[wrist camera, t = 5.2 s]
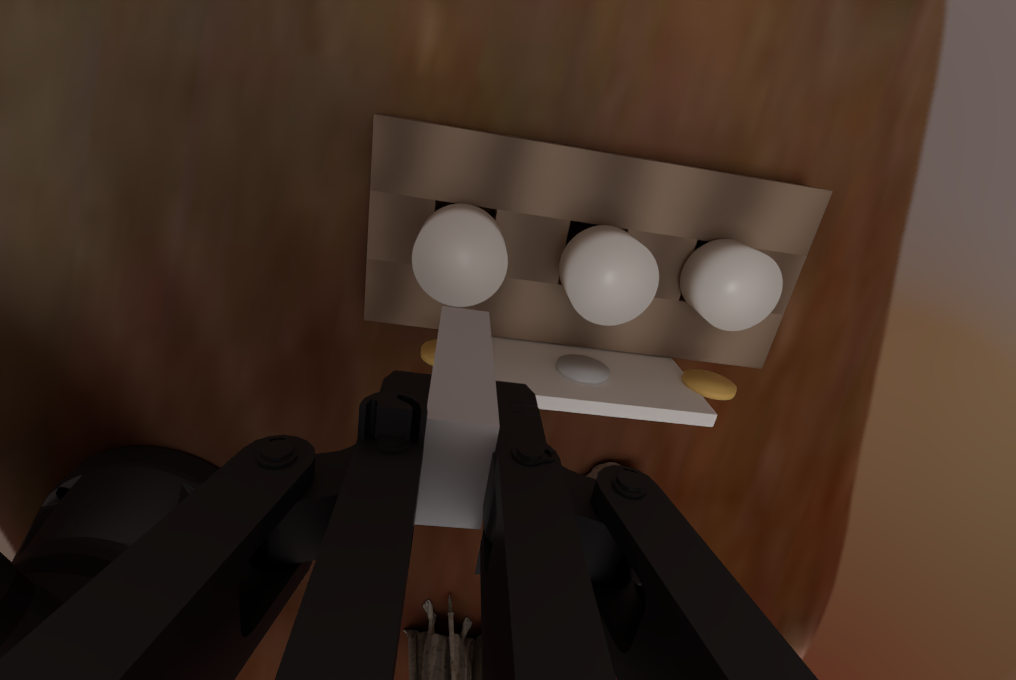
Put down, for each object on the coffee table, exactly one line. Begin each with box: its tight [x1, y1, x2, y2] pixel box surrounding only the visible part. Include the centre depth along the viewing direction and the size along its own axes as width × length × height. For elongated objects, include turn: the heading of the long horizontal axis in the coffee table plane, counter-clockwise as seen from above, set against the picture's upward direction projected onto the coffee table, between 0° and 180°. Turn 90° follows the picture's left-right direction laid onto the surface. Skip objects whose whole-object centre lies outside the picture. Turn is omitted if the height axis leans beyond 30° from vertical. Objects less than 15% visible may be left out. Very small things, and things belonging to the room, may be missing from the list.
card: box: [420, 336, 737, 427], centre depth 32 cm, size 19×1×10 cm, turn 81°
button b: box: [559, 225, 659, 326], centre depth 29 cm, size 5×5×6 cm
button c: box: [680, 239, 783, 331], centre depth 32 cm, size 5×5×6 cm
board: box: [364, 114, 832, 369], centre depth 33 cm, size 27×12×3 cm, turn 81°
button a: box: [412, 203, 508, 307], centre depth 28 cm, size 5×5×6 cm
